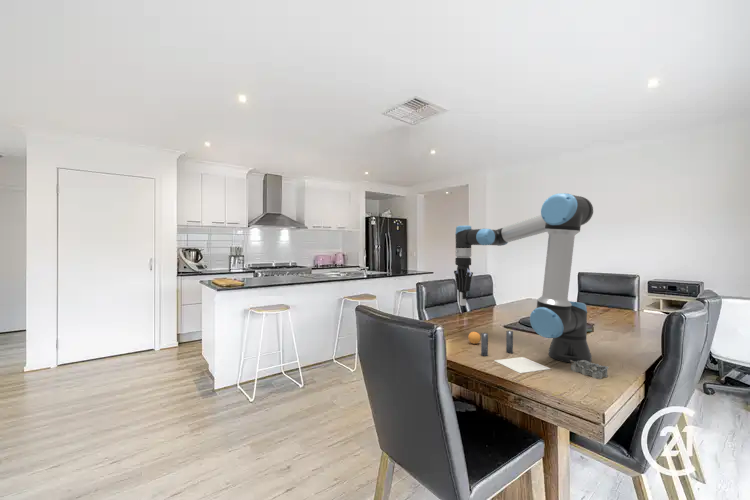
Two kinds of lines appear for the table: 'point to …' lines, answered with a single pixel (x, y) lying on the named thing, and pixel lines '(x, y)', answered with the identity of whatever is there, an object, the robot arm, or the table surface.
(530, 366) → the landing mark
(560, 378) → the table surface
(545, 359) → the table surface
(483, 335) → the post left
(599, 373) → the egg carton
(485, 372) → the table surface
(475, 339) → the ball
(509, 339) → the post right
